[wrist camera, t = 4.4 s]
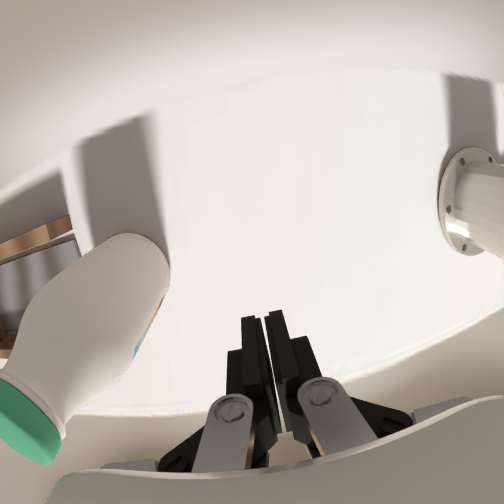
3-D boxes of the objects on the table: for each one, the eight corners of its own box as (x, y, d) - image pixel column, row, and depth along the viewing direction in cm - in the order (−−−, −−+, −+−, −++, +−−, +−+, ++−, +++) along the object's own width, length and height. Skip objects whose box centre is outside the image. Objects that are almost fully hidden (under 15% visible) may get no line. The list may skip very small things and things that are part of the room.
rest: (68, 215, 23) (32, 229, 17) (114, 337, 27) (93, 370, 22) (-30, 258, 23) (-56, 273, 18) (7, 343, 28) (-13, 365, 22)
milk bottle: (93, 233, 24) (-69, 349, 5) (166, 227, 24) (16, 391, 5) (108, 306, 26) (5, 456, 7) (177, 305, 26) (111, 501, 7)
